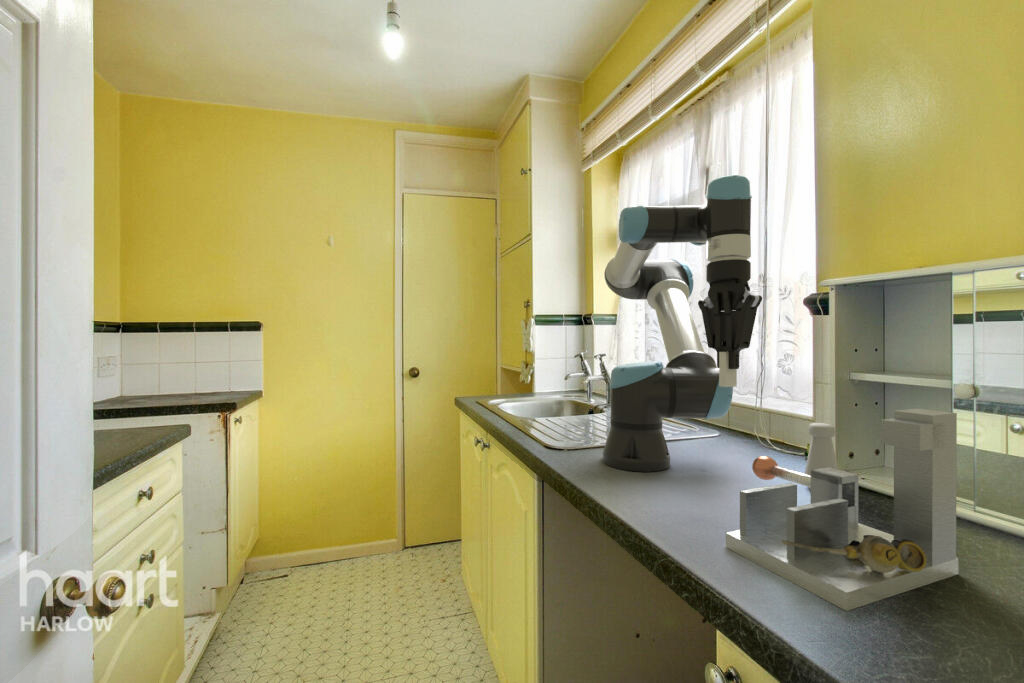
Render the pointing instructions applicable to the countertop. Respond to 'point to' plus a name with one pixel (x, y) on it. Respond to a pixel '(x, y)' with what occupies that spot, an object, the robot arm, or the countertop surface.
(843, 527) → the press
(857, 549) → the regulator
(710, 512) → the countertop surface
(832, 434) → the salt shaker
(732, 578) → the countertop surface
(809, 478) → the lever
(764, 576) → the countertop surface
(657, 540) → the countertop surface
